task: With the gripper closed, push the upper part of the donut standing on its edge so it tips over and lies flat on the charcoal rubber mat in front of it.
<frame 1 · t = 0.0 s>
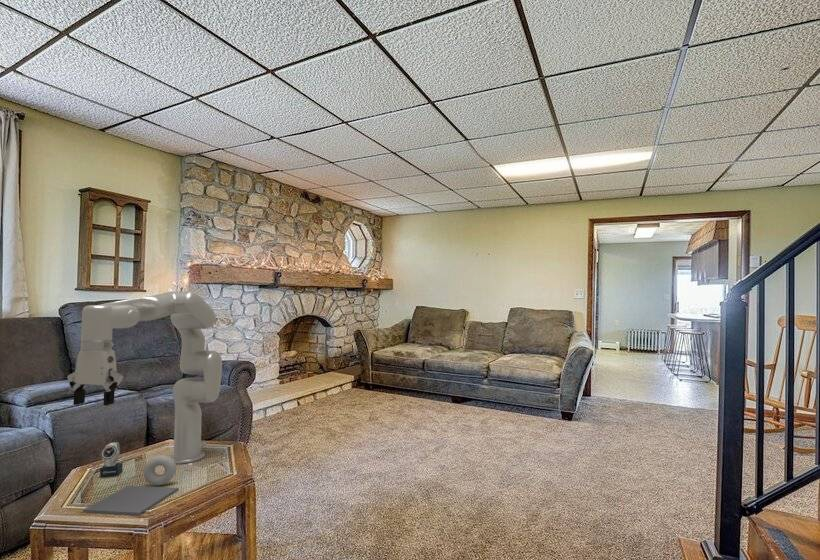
hand: (93, 404, 125), 31 cm above the table, tool pointing down, fingers open, 9 cm apart
watch: (111, 475, 151), on the table
donut: (159, 486, 142), on the table
mat: (133, 500, 130), on the table
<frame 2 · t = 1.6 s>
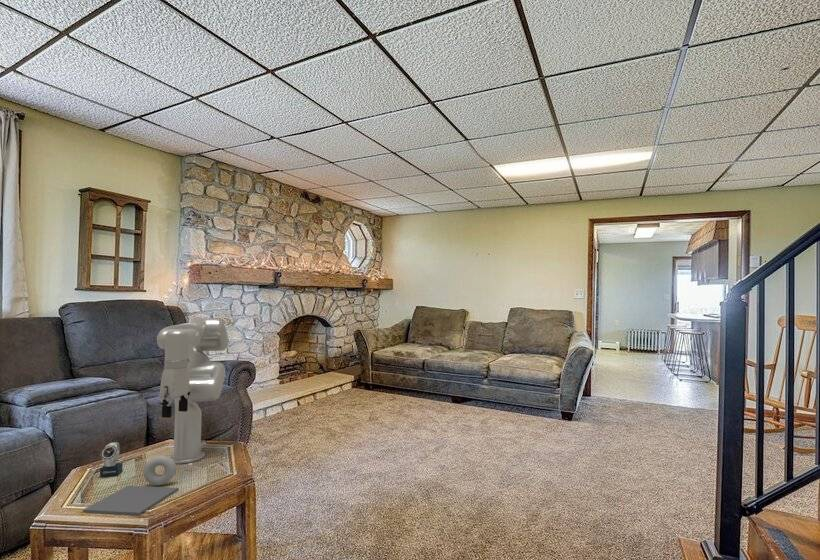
hand: (175, 414, 150), 22 cm above the table, tool pointing down, fingers open, 8 cm apart
nothing on the table moved.
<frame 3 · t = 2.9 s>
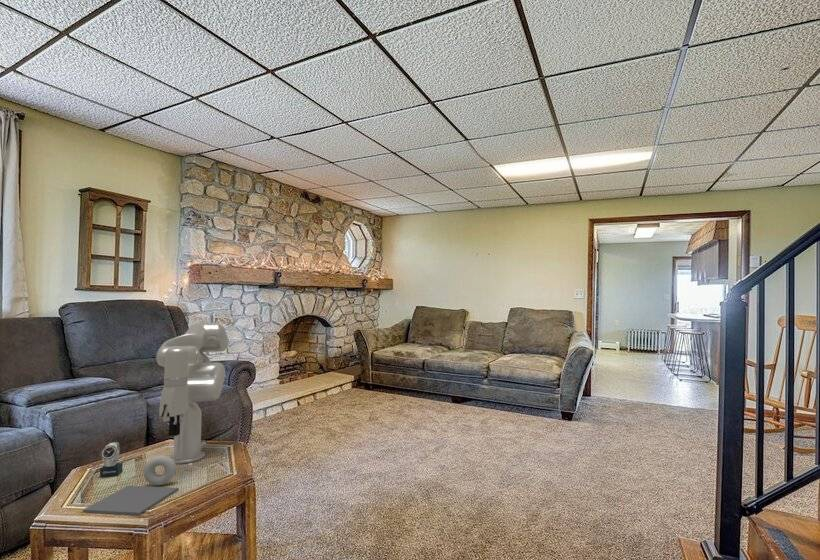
hand: (174, 435, 149), 15 cm above the table, tool pointing down, fingers closed
nothing on the table moved.
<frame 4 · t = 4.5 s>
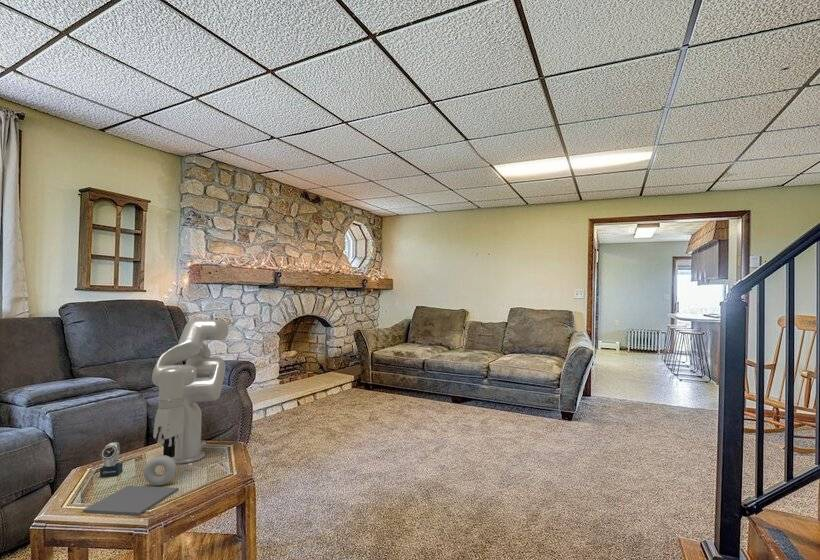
hand: (168, 457, 146), 8 cm above the table, tool pointing down, fingers closed
nothing on the table moved.
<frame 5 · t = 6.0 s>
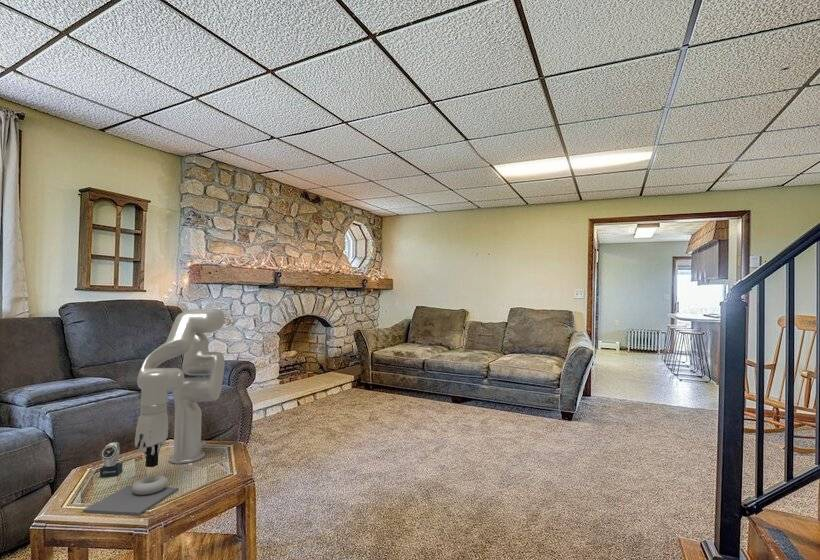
hand: (151, 466, 138), 8 cm above the table, tool pointing down, fingers closed
donut: (159, 478, 141), point 2 cm above the table, touching mat
everything else where it was.
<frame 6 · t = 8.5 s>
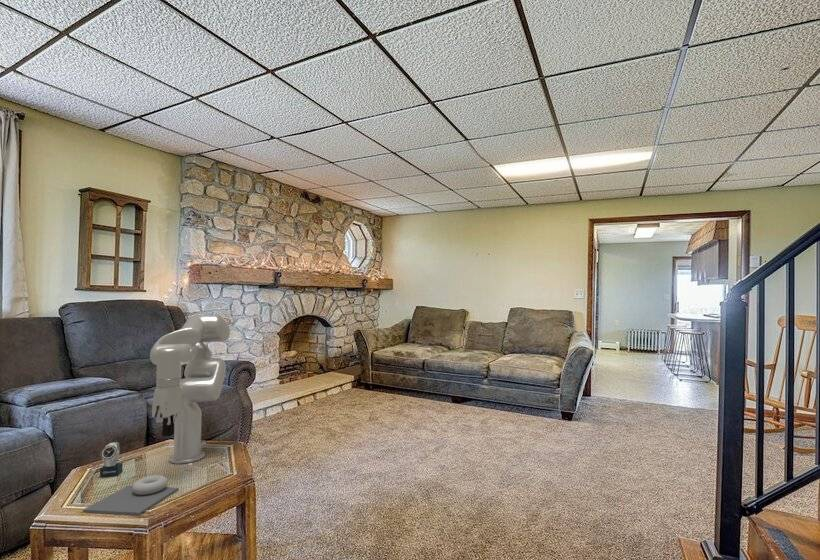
hand: (168, 435, 147), 15 cm above the table, tool pointing down, fingers closed
nothing on the table moved.
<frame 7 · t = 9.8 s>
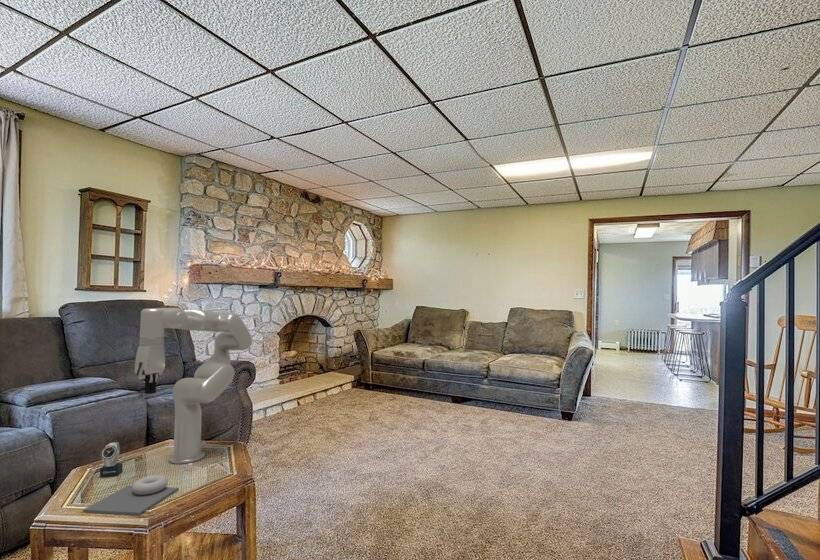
hand: (150, 393, 152), 29 cm above the table, tool pointing down, fingers closed
nothing on the table moved.
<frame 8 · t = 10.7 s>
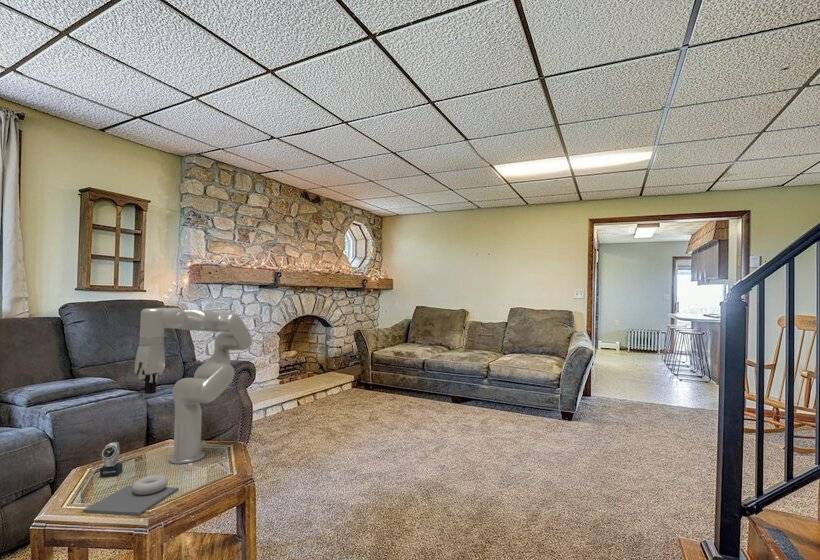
hand: (150, 393, 152), 29 cm above the table, tool pointing down, fingers closed
nothing on the table moved.
at the end: donut tilted 89°; donut touching mat; the gripper is holding nothing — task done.
